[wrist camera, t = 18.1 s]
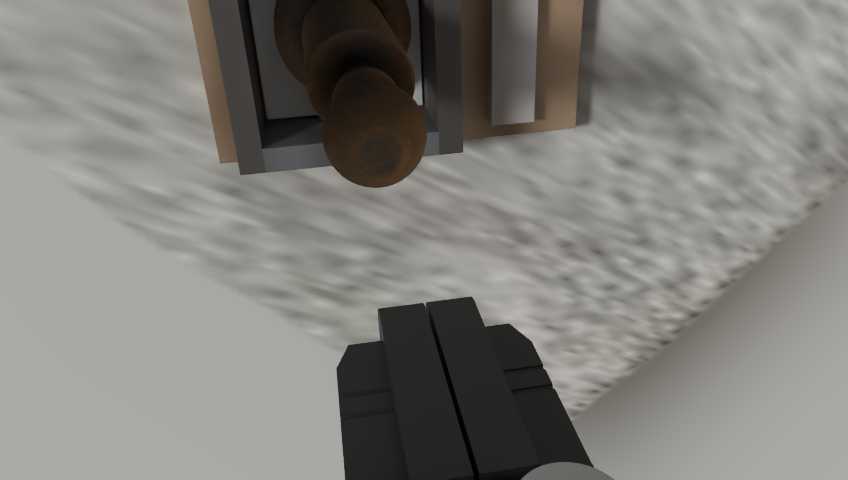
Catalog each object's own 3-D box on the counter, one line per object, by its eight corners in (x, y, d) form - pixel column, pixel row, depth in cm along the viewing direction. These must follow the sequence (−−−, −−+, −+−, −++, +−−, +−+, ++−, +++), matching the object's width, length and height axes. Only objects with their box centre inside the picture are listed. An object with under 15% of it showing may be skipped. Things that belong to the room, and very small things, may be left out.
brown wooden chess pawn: (419, 68, 36) (514, 223, 21) (300, 102, 36) (304, 285, 20) (386, -67, 33) (468, -3, 17) (254, -29, 33) (217, 69, 17)
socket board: (582, -151, 34) (633, -154, 29) (566, 119, 41) (605, 156, 36) (167, -130, 32) (142, -129, 27) (222, 153, 39) (211, 198, 34)
